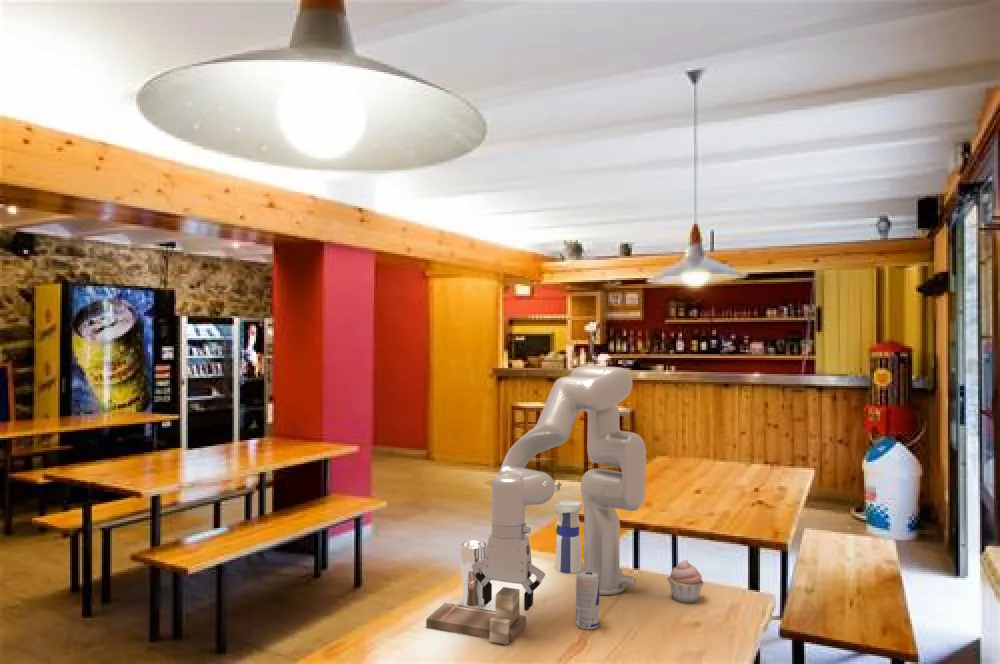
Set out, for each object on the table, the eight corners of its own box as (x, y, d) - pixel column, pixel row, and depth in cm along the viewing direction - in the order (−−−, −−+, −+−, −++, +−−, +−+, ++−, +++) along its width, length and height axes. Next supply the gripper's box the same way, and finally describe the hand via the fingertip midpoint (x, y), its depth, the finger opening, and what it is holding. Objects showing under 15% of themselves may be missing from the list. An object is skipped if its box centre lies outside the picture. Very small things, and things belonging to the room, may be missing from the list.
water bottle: (550, 572, 193) (550, 484, 193) (557, 562, 201) (558, 478, 201) (578, 575, 190) (578, 487, 190) (585, 566, 198) (585, 481, 198)
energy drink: (601, 622, 159) (601, 571, 159) (596, 631, 154) (597, 579, 154) (578, 619, 161) (579, 568, 161) (573, 628, 156) (574, 576, 156)
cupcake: (704, 608, 168) (704, 568, 168) (665, 603, 171) (665, 563, 171) (704, 594, 177) (705, 556, 177) (668, 589, 180) (668, 552, 180)
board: (526, 624, 158) (526, 615, 158) (511, 642, 148) (511, 633, 148) (444, 611, 165) (444, 602, 165) (426, 627, 156) (426, 618, 156)
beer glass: (488, 599, 173) (489, 540, 173) (485, 610, 166) (486, 549, 166) (462, 597, 174) (462, 539, 174) (457, 608, 167) (458, 548, 167)
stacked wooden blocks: (522, 624, 157) (523, 585, 157) (506, 644, 147) (506, 603, 147) (506, 621, 158) (506, 583, 158) (489, 641, 148) (489, 600, 148)
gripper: (549, 529, 154) (548, 605, 154) (479, 522, 160) (478, 594, 160) (539, 539, 147) (539, 618, 147) (466, 530, 153) (466, 606, 153)
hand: (507, 605), depth 153 cm, fingers open, 9 cm apart
